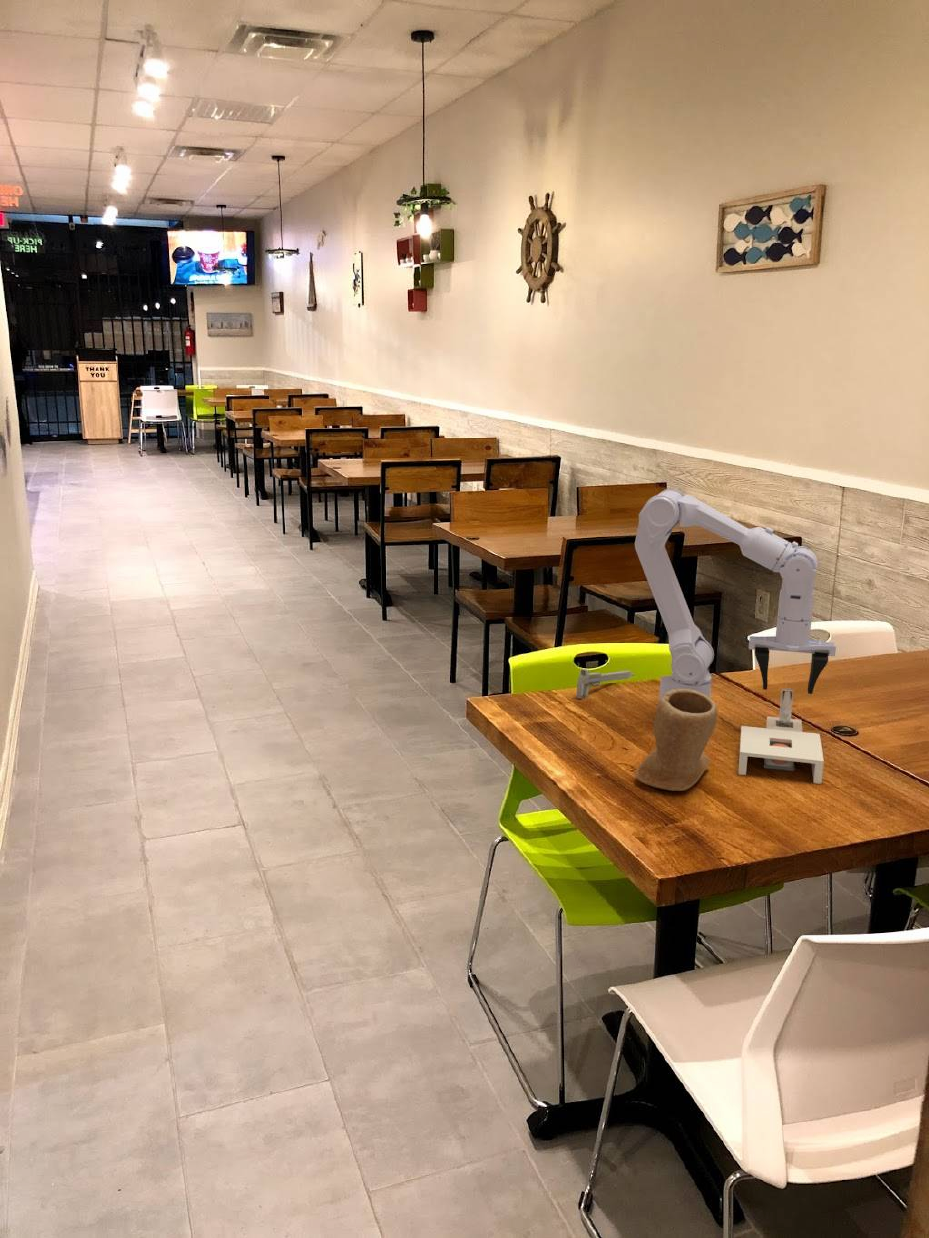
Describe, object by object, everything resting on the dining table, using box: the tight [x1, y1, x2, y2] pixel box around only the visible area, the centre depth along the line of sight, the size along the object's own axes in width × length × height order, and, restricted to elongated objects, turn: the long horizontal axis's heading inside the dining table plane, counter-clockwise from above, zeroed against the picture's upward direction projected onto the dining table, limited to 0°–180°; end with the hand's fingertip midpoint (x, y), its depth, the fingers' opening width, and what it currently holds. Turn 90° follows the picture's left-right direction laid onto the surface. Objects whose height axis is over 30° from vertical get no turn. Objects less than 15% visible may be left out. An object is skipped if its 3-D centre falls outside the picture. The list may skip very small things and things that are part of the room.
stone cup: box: [635, 689, 718, 792], centre depth 157 cm, size 15×12×15 cm
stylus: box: [778, 688, 794, 728], centre depth 174 cm, size 2×2×9 cm
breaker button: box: [763, 744, 795, 772], centre depth 163 cm, size 5×5×3 cm
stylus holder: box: [765, 716, 804, 732], centre depth 175 cm, size 6×6×2 cm
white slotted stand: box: [737, 725, 825, 785], centre depth 163 cm, size 13×12×4 cm
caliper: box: [576, 668, 635, 700], centre depth 201 cm, size 20×1×6 cm, turn 139°
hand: (787, 690), depth 173 cm, fingers open, 7 cm apart
